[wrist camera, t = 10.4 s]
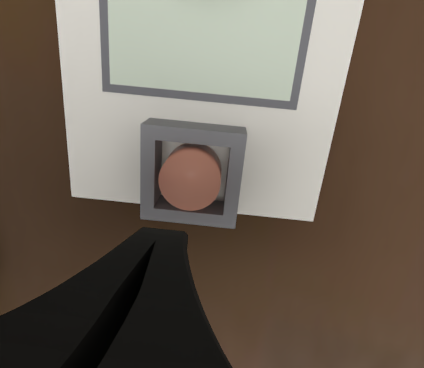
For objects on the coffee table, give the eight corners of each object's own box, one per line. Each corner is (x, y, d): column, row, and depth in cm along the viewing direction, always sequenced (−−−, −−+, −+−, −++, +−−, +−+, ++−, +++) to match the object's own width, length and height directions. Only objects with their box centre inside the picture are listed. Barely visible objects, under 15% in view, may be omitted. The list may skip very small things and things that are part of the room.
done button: (165, 192, 17) (157, 207, 16) (167, 139, 16) (159, 149, 14) (219, 197, 17) (217, 213, 16) (224, 145, 16) (223, 155, 14)
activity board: (77, 191, 19) (55, 210, 16) (46, -228, 12) (1, -299, 10) (309, 215, 19) (321, 237, 16) (403, -201, 12) (446, -266, 10)
